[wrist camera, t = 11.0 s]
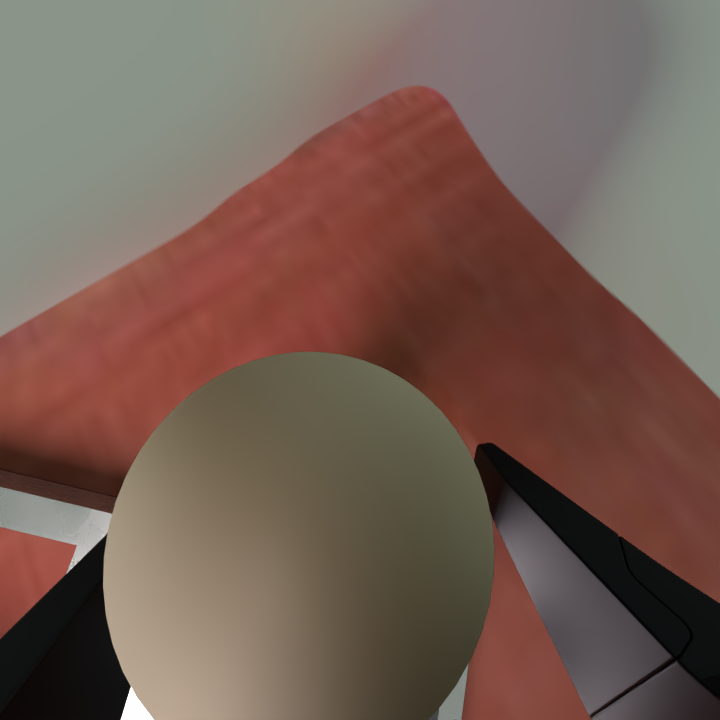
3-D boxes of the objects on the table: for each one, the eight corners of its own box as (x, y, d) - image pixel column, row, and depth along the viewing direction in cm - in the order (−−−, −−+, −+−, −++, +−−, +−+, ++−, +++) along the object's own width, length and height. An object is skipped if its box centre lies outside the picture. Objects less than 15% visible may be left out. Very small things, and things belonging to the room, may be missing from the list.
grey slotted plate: (424, 835, 14) (438, 907, 11) (-153, 692, 14) (-241, 738, 12) (460, 579, 16) (477, 602, 14) (-39, 460, 16) (-96, 465, 14)
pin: (340, 526, 16) (314, 903, 3) (269, 459, 17) (16, 564, 4) (401, 449, 17) (565, 514, 4) (332, 389, 17) (297, 286, 5)
